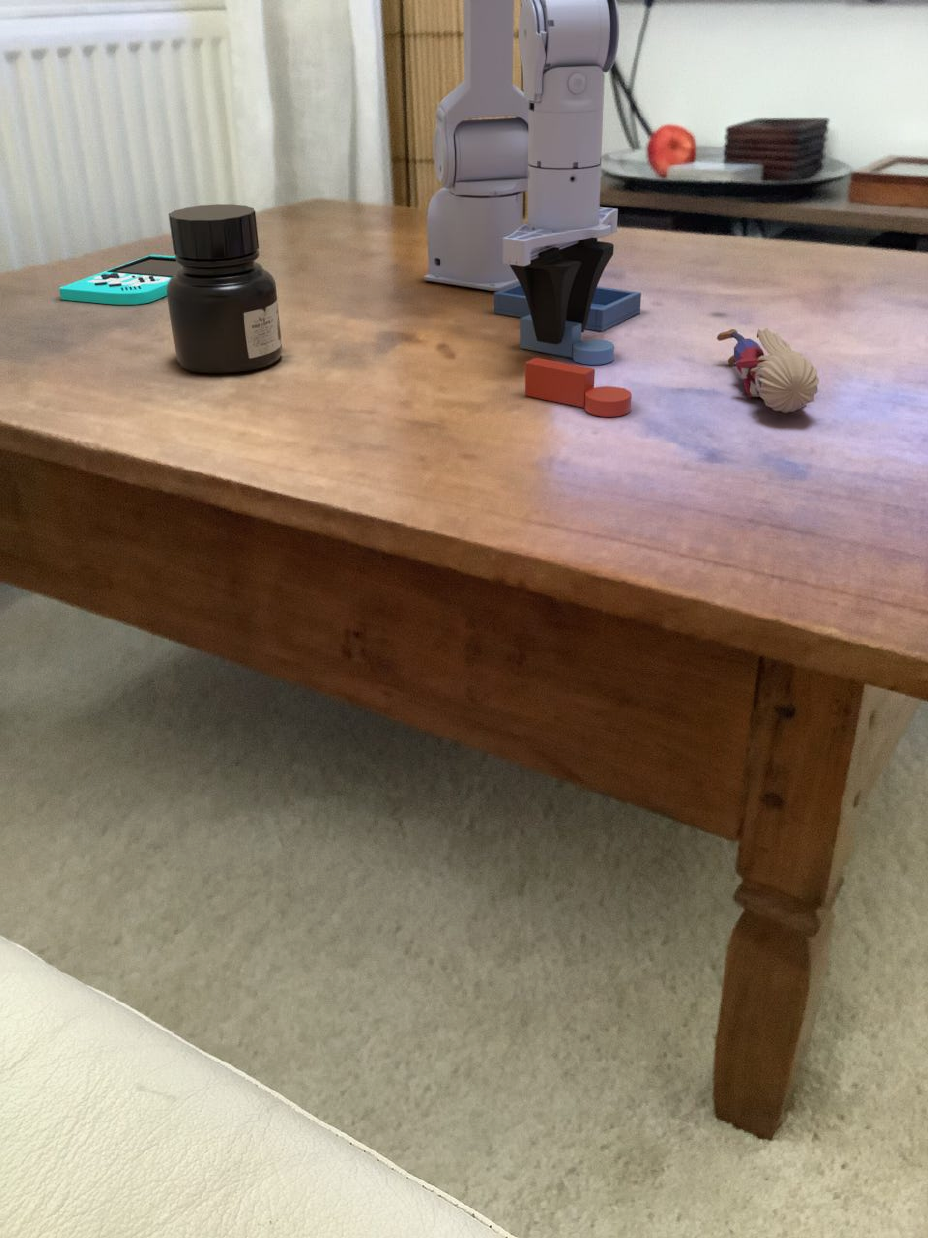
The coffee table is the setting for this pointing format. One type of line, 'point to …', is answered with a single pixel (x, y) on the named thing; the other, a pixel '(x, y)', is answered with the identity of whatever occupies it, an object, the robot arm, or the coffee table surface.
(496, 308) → the blue tray
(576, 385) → the red block with disc
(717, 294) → the coffee table surface
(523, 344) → the blue block with disc
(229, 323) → the ink bottle
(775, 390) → the figurine
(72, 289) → the handheld game console
